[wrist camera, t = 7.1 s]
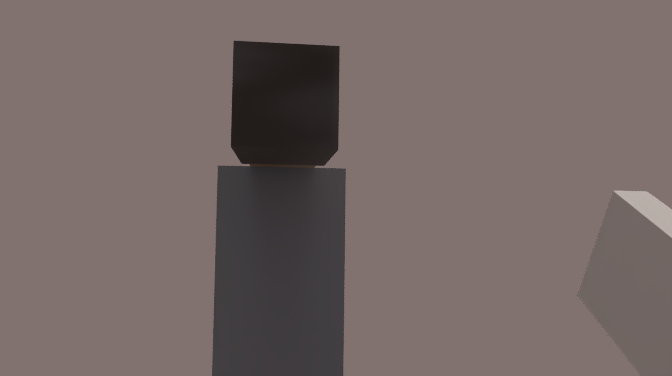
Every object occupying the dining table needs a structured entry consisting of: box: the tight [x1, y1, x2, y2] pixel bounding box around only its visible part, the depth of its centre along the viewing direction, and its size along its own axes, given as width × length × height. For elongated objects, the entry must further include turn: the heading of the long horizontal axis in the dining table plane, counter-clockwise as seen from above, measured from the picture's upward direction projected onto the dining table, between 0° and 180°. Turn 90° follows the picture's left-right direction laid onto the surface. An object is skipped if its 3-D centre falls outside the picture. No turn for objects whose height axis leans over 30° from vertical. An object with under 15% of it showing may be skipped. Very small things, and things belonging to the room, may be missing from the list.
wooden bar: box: [231, 41, 339, 168], centre depth 29 cm, size 3×26×3 cm, turn 6°
